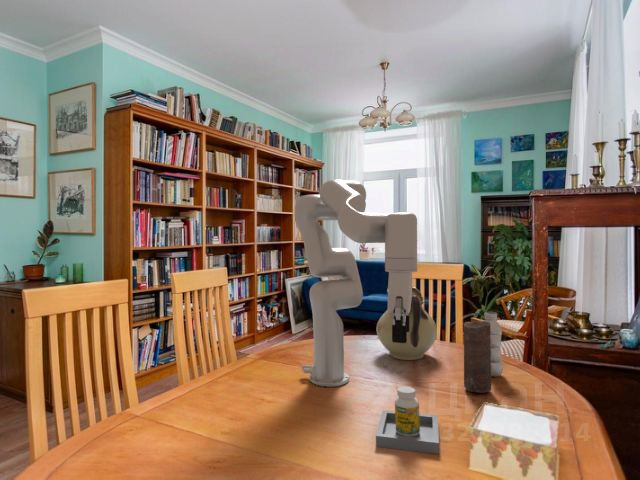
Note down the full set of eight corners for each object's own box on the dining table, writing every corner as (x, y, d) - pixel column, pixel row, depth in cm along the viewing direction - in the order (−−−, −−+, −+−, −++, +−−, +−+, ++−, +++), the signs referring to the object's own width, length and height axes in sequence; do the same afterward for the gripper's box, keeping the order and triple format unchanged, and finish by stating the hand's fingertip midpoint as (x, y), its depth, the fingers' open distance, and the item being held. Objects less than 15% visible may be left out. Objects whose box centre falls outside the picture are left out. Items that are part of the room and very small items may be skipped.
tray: (376, 446, 84) (375, 435, 84) (382, 419, 97) (382, 410, 97) (439, 454, 81) (439, 443, 81) (437, 425, 93) (437, 415, 93)
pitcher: (400, 343, 165) (398, 284, 164) (452, 355, 147) (450, 289, 147) (365, 356, 150) (363, 290, 149) (418, 370, 132) (416, 297, 132)
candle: (494, 397, 108) (492, 325, 108) (466, 396, 110) (464, 324, 110) (488, 387, 116) (486, 319, 116) (462, 385, 117) (460, 319, 117)
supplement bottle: (420, 428, 91) (419, 386, 91) (418, 439, 86) (417, 395, 86) (397, 425, 93) (396, 384, 93) (393, 435, 87) (392, 392, 88)
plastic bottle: (481, 377, 124) (479, 314, 124) (481, 370, 130) (479, 310, 130) (503, 380, 121) (502, 315, 121) (502, 372, 128) (501, 311, 128)
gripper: (389, 261, 102) (389, 327, 103) (380, 268, 86) (380, 346, 86) (418, 262, 100) (418, 328, 101) (415, 269, 84) (415, 348, 84)
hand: (401, 336), depth 93 cm, fingers open, 9 cm apart
